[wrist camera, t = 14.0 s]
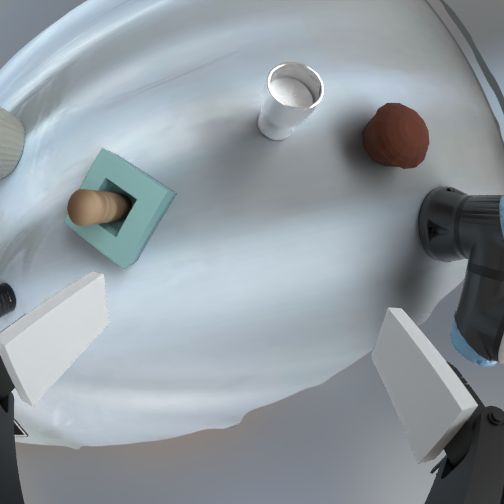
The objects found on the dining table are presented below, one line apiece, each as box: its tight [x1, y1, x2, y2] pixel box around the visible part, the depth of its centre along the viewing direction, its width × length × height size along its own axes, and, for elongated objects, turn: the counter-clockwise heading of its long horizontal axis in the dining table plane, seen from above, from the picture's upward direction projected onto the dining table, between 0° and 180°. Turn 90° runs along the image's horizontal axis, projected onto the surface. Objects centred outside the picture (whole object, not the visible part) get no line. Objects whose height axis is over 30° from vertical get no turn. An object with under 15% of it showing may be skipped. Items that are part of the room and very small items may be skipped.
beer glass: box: [258, 62, 324, 140], centre depth 33 cm, size 7×7×15 cm
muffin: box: [363, 103, 429, 169], centre depth 37 cm, size 12×11×10 cm
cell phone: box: [14, 419, 28, 437], centre depth 47 cm, size 8×15×1 cm, turn 115°
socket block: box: [64, 148, 177, 269], centre depth 38 cm, size 13×13×6 cm
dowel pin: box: [68, 189, 132, 226], centre depth 33 cm, size 4×4×12 cm
